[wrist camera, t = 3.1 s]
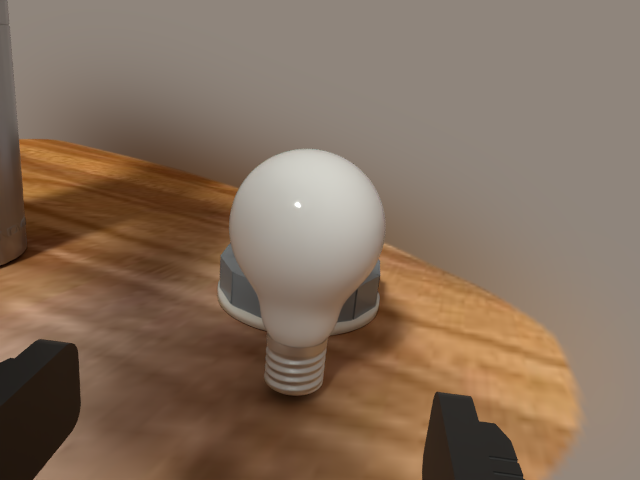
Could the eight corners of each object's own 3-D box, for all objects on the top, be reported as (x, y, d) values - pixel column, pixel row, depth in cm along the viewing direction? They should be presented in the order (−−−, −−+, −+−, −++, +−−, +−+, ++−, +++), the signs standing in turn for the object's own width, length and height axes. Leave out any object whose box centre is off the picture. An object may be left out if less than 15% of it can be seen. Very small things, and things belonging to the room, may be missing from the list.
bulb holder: (196, 323, 31) (197, 279, 30) (238, 259, 40) (240, 224, 39) (379, 346, 30) (385, 302, 29) (378, 276, 39) (382, 241, 39)
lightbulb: (246, 344, 29) (258, 130, 25) (368, 366, 28) (399, 147, 24) (200, 419, 23) (207, 153, 19) (352, 449, 22) (390, 176, 18)
